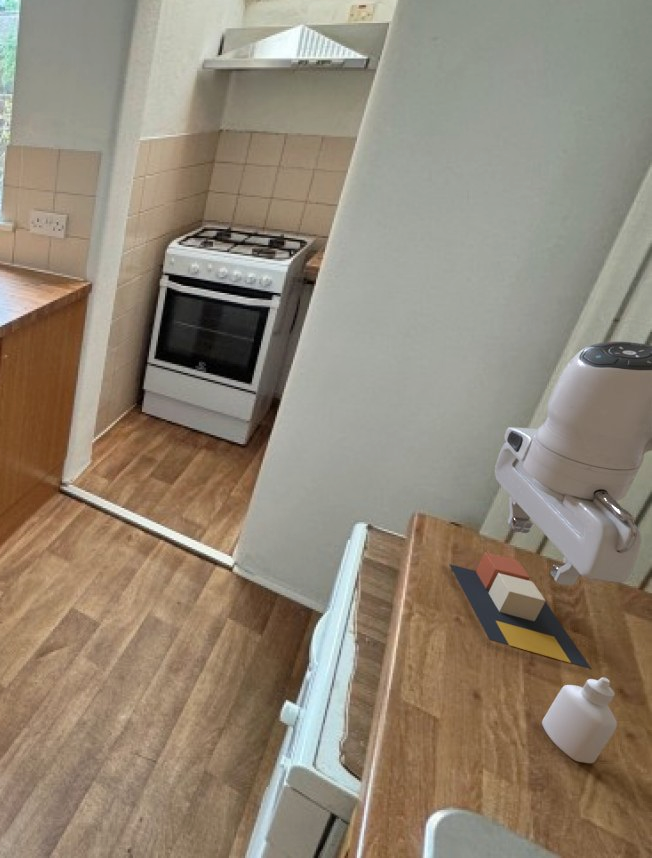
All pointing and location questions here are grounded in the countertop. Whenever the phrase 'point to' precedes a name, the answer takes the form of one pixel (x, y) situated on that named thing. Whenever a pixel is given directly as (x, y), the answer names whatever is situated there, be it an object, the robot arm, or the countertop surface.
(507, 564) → the terracotta letter block
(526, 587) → the cream cube
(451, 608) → the countertop surface
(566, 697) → the eye dropper bottle
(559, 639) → the word mat
